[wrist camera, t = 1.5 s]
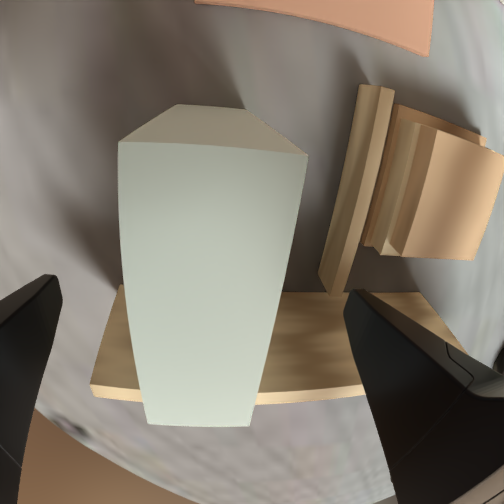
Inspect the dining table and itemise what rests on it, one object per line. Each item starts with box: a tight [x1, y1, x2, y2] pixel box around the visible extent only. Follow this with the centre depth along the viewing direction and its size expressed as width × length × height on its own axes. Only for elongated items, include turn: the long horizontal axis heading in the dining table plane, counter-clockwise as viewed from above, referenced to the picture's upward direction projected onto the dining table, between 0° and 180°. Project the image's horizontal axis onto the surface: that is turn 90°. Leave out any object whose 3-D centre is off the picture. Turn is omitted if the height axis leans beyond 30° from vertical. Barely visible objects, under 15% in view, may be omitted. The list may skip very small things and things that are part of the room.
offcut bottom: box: [360, 103, 487, 247], centre depth 19 cm, size 8×9×2 cm
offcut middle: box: [370, 118, 495, 256], centre depth 18 cm, size 7×8×2 cm
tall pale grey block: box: [118, 104, 309, 427], centre depth 12 cm, size 4×9×11 cm, turn 172°
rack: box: [90, 84, 468, 405], centre depth 15 cm, size 22×14×8 cm, turn 82°
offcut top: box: [390, 125, 504, 260], centre depth 16 cm, size 6×7×2 cm
